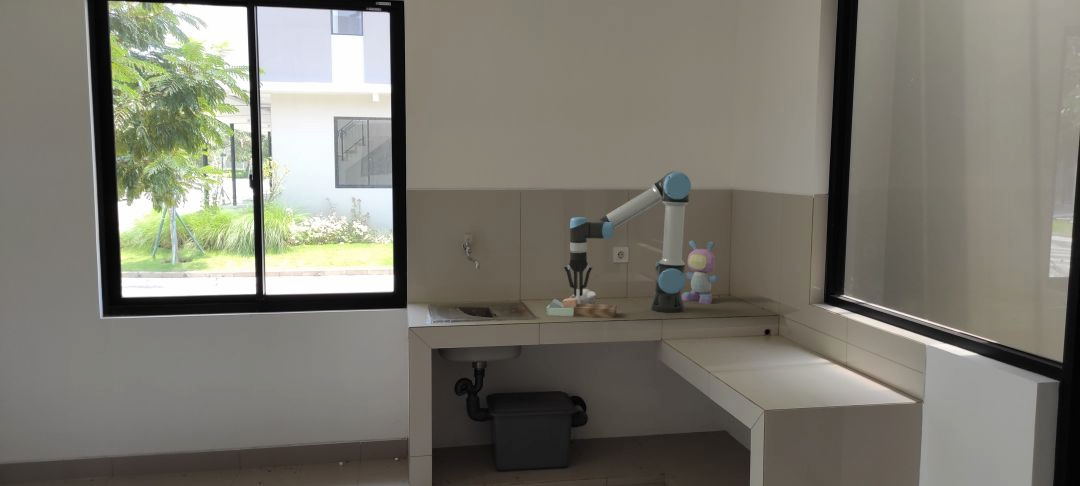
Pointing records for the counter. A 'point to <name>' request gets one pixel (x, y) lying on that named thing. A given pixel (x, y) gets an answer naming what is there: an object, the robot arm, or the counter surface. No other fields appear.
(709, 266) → the toy
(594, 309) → the board
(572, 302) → the tile
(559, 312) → the tray
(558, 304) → the tile
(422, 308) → the counter surface
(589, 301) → the toy
